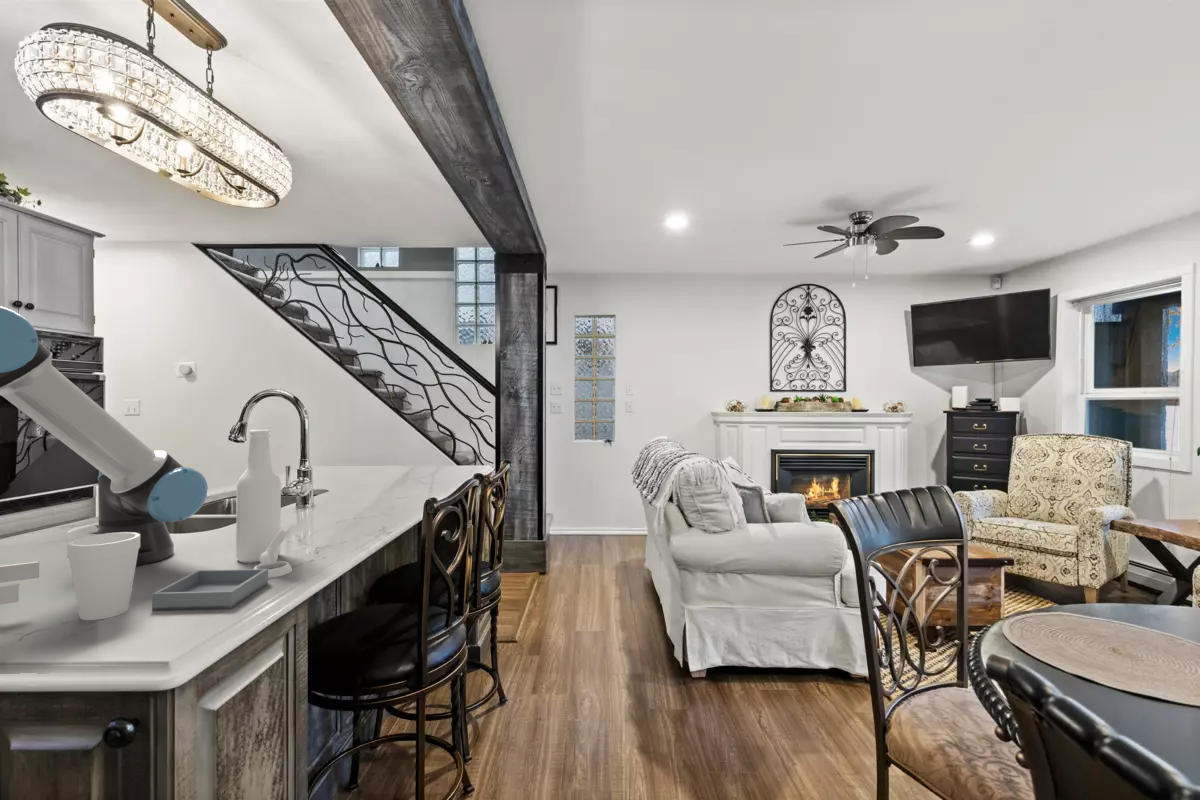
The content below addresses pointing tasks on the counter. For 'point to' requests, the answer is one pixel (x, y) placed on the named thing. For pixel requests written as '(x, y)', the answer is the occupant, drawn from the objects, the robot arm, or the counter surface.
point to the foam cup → (103, 573)
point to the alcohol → (257, 501)
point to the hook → (274, 557)
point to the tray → (210, 589)
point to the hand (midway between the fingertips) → (29, 580)
